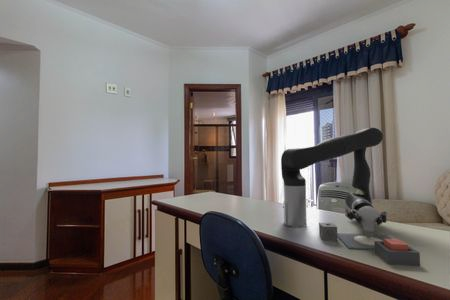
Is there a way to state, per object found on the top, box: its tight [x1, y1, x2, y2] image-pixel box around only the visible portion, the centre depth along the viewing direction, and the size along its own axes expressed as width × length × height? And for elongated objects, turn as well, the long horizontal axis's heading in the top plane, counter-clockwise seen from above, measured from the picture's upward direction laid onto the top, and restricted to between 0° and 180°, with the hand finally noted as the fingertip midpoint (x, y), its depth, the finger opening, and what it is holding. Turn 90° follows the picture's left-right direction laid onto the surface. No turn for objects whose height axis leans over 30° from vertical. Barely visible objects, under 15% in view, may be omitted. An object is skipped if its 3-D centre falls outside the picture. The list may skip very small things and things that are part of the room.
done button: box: [384, 238, 409, 251], centre depth 70 cm, size 4×4×2 cm
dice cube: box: [318, 222, 339, 242], centre depth 88 cm, size 5×5×5 cm
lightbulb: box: [358, 206, 379, 238], centre depth 83 cm, size 6×6×11 cm
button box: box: [374, 241, 421, 266], centre depth 70 cm, size 8×8×4 cm
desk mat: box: [337, 232, 393, 251], centre depth 83 cm, size 18×14×1 cm
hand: (369, 220), depth 81 cm, fingers closed on lightbulb, 5 cm apart
